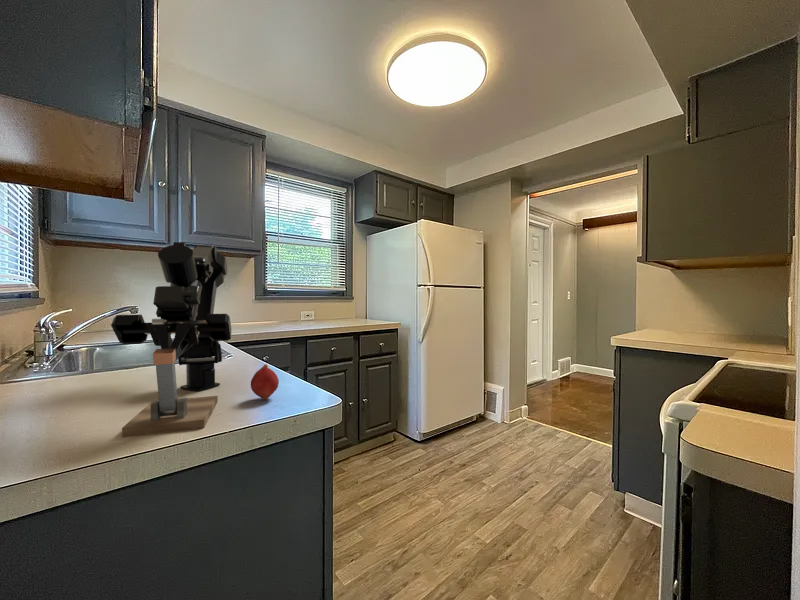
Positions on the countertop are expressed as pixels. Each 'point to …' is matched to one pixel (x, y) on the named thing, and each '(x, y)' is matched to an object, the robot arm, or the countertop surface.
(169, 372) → the lever
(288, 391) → the countertop surface
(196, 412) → the lever base
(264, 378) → the onion
